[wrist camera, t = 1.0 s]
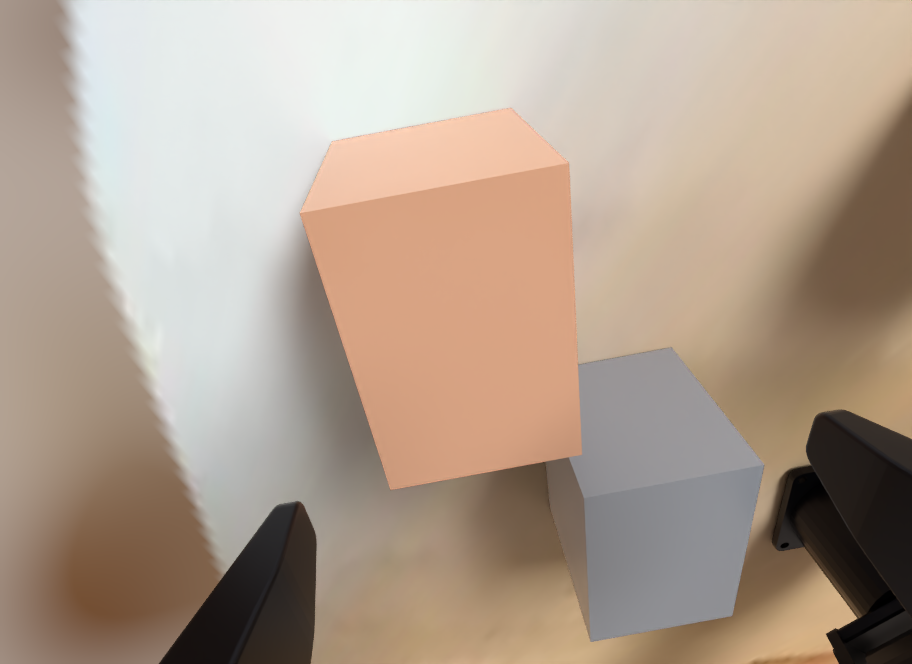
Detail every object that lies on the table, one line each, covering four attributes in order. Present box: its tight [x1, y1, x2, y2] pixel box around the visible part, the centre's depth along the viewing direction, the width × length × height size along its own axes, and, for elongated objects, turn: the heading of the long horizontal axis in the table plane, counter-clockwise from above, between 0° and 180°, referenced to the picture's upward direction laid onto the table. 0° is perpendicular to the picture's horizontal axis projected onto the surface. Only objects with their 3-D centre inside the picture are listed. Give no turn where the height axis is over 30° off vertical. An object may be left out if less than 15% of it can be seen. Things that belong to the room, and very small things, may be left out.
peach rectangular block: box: [300, 108, 582, 490], centre depth 17 cm, size 9×6×7 cm, turn 9°
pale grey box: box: [546, 347, 764, 642], centre depth 23 cm, size 9×6×7 cm, turn 9°
